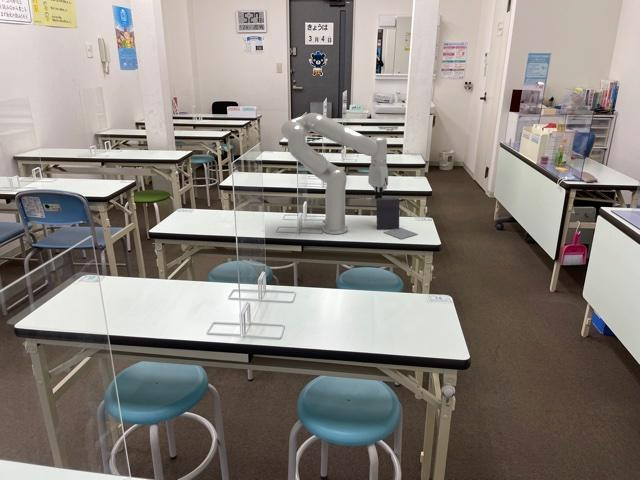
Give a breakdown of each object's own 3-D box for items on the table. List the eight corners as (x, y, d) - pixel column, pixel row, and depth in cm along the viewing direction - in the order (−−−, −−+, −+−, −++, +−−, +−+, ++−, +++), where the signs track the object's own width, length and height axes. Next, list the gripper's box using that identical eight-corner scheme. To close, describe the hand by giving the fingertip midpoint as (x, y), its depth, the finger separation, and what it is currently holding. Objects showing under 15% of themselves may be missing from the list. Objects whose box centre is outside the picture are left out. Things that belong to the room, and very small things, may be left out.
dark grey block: (398, 226, 237) (398, 197, 233) (399, 229, 233) (399, 199, 229) (376, 227, 239) (376, 197, 234) (376, 229, 235) (376, 199, 230)
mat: (383, 232, 230) (383, 232, 230) (400, 228, 236) (400, 227, 236) (401, 239, 221) (401, 238, 221) (417, 234, 227) (417, 233, 227)
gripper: (362, 161, 235) (363, 197, 242) (383, 166, 224) (383, 203, 230) (374, 159, 239) (374, 194, 246) (395, 163, 228) (394, 200, 234)
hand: (378, 199), depth 238 cm, fingers closed
